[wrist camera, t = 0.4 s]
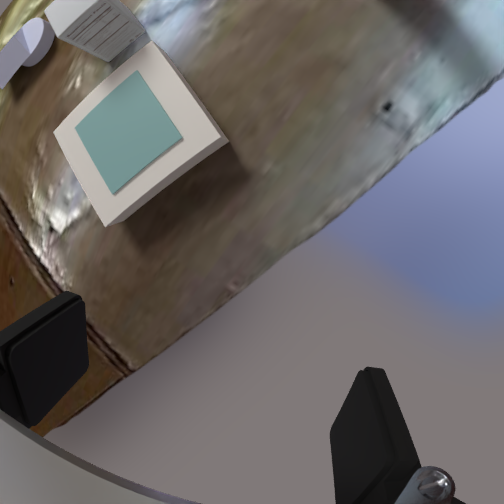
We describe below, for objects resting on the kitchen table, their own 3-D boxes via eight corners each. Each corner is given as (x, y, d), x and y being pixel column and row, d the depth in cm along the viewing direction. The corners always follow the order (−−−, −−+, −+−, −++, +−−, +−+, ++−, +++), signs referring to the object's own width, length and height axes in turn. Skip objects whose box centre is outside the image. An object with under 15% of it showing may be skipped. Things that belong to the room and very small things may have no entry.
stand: (166, 53, 34) (150, 39, 29) (229, 141, 37) (220, 136, 32) (74, 134, 38) (51, 132, 33) (123, 220, 41) (104, 227, 36)
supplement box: (91, 37, 34) (42, 10, 22) (128, 6, 33) (85, -30, 21) (108, 64, 35) (55, 39, 23) (147, 32, 34) (103, -5, 22)
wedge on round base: (14, 91, 38) (60, 40, 35) (-11, 87, 31) (35, 29, 28) (6, 63, 36) (49, 14, 33) (-17, 57, 30) (26, 3, 27)
